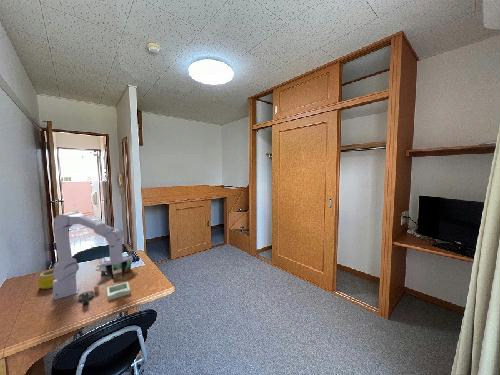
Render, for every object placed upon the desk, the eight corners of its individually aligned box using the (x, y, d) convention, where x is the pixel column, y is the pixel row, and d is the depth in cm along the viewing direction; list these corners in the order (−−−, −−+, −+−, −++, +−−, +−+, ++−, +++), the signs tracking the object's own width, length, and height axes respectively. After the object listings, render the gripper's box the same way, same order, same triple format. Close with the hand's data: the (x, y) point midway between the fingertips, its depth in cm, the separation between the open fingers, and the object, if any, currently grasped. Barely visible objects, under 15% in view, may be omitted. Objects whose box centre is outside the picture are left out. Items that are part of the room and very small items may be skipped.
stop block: (113, 283, 112) (113, 273, 112) (113, 279, 116) (112, 271, 115) (122, 280, 115) (122, 271, 114) (121, 277, 118) (121, 268, 117)
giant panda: (111, 268, 143) (110, 255, 142) (119, 269, 143) (118, 255, 142) (93, 280, 129) (91, 265, 128) (101, 280, 128) (100, 265, 127)
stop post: (94, 294, 115) (93, 287, 114) (94, 292, 116) (94, 286, 116) (99, 292, 116) (98, 286, 115) (99, 291, 117) (98, 284, 117)
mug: (35, 287, 121) (33, 267, 120) (59, 278, 131) (57, 259, 130) (45, 293, 115) (43, 272, 114) (70, 283, 125) (68, 263, 124)
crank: (78, 296, 112) (78, 287, 112) (93, 292, 116) (93, 283, 115) (77, 307, 103) (76, 297, 102) (93, 302, 107) (93, 293, 106)
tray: (108, 300, 109) (107, 296, 108) (107, 291, 117) (106, 287, 116) (130, 293, 114) (130, 289, 114) (128, 285, 122) (127, 281, 122)
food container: (116, 278, 131) (114, 262, 130) (111, 275, 135) (110, 259, 134) (136, 270, 141) (135, 255, 140) (132, 267, 145) (131, 253, 144)
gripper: (99, 258, 106) (101, 284, 107) (132, 251, 114) (134, 276, 116) (99, 253, 112) (101, 278, 113) (130, 247, 120) (132, 270, 121)
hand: (117, 277), depth 115 cm, fingers closed on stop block, 4 cm apart
